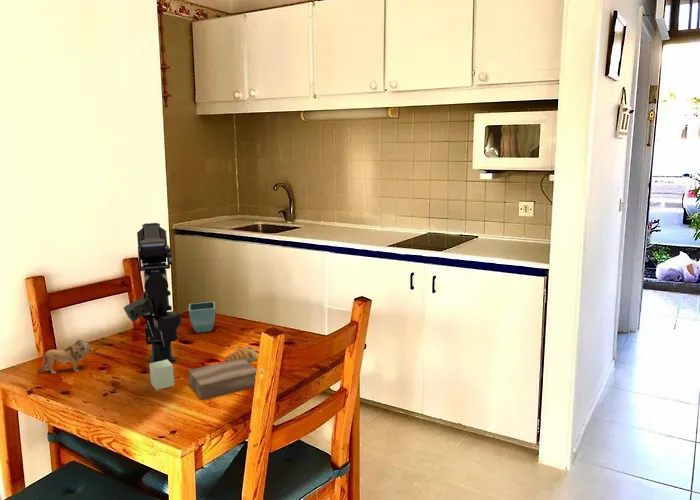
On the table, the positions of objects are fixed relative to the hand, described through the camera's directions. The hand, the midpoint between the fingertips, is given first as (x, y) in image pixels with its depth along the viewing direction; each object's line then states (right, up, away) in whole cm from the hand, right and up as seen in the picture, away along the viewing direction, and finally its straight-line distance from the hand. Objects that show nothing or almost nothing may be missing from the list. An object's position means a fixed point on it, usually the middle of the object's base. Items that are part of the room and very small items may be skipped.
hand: (161, 343), depth 160 cm
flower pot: (0, -3, +47) cm, 47 cm away
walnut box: (+17, -12, +2) cm, 21 cm away
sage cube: (0, -12, +2) cm, 12 cm away
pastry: (+19, -9, +19) cm, 28 cm away
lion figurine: (-32, -10, +14) cm, 37 cm away
